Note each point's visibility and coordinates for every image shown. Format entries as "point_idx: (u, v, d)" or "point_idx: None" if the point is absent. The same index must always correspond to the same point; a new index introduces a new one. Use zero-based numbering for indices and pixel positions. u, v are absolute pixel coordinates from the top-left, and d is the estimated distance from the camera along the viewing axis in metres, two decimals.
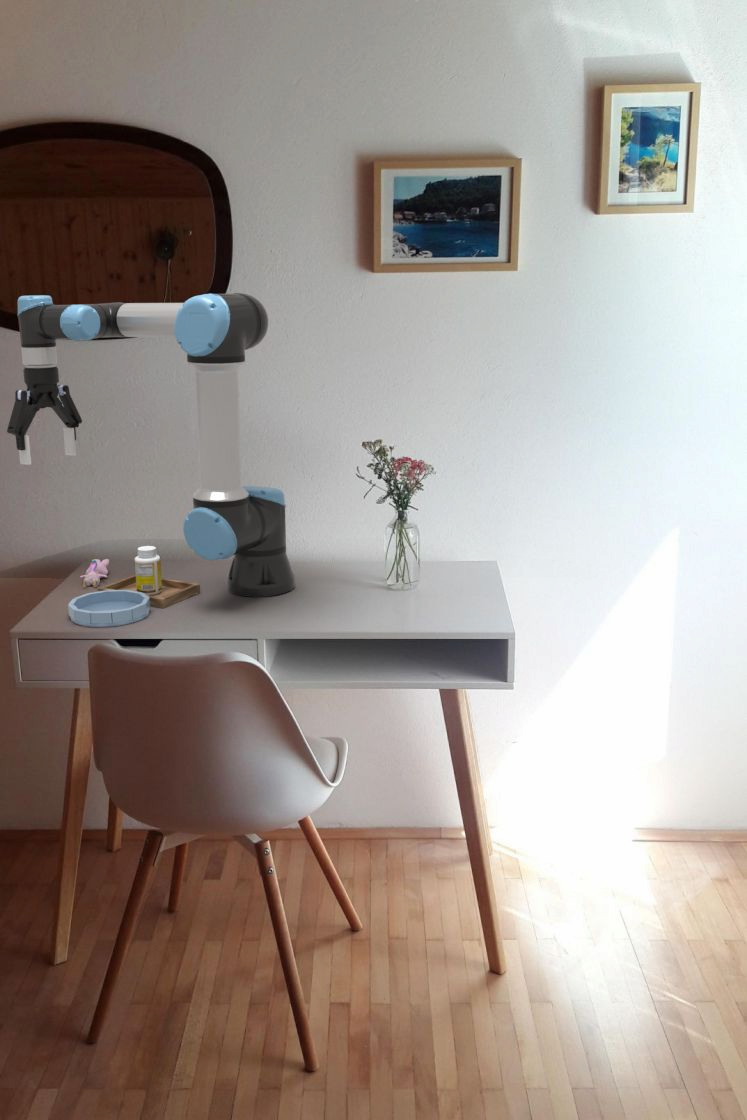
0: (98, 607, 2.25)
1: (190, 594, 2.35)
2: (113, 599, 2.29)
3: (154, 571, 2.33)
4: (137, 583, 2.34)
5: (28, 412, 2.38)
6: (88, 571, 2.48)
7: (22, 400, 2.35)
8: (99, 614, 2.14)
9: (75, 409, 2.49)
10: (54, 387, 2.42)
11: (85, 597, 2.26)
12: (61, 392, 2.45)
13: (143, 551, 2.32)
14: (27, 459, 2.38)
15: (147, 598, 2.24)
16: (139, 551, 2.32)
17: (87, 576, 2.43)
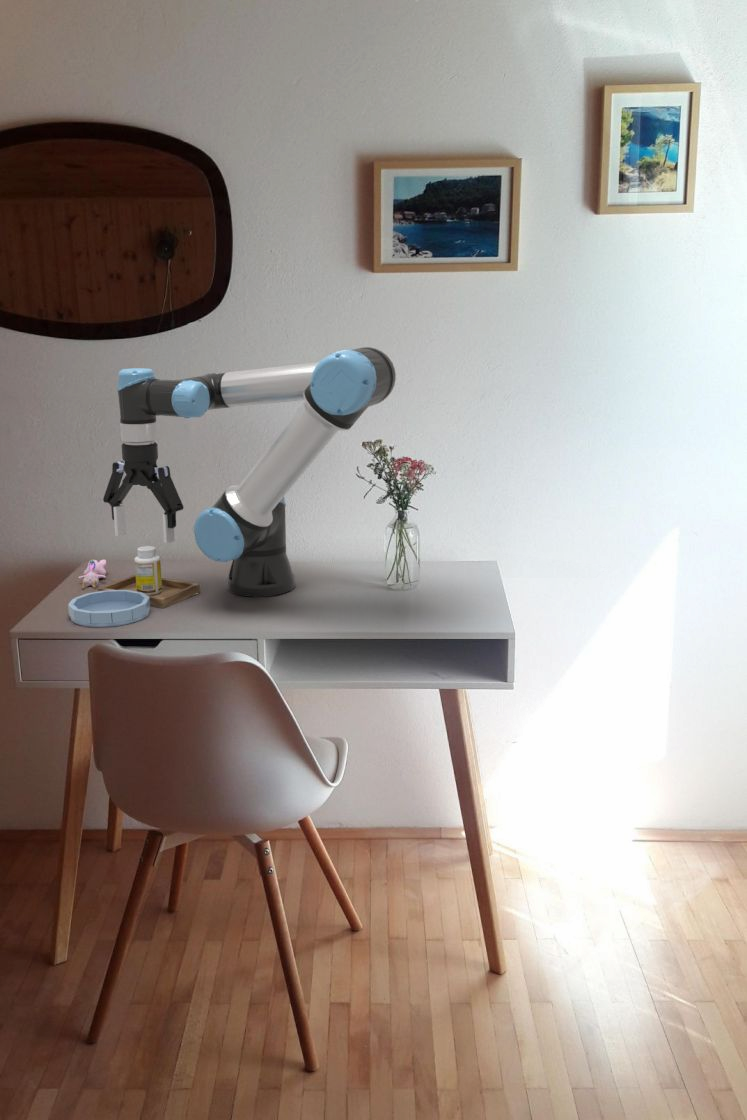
0: (98, 607, 2.25)
1: (190, 594, 2.35)
2: (113, 599, 2.29)
3: (154, 571, 2.33)
4: (137, 583, 2.34)
5: None
6: (86, 572, 2.47)
7: None
8: (99, 614, 2.14)
9: (169, 495, 2.25)
10: (146, 466, 2.27)
11: (85, 597, 2.26)
12: None
13: (143, 551, 2.32)
14: None
15: (147, 598, 2.24)
16: (139, 551, 2.32)
17: (86, 577, 2.43)
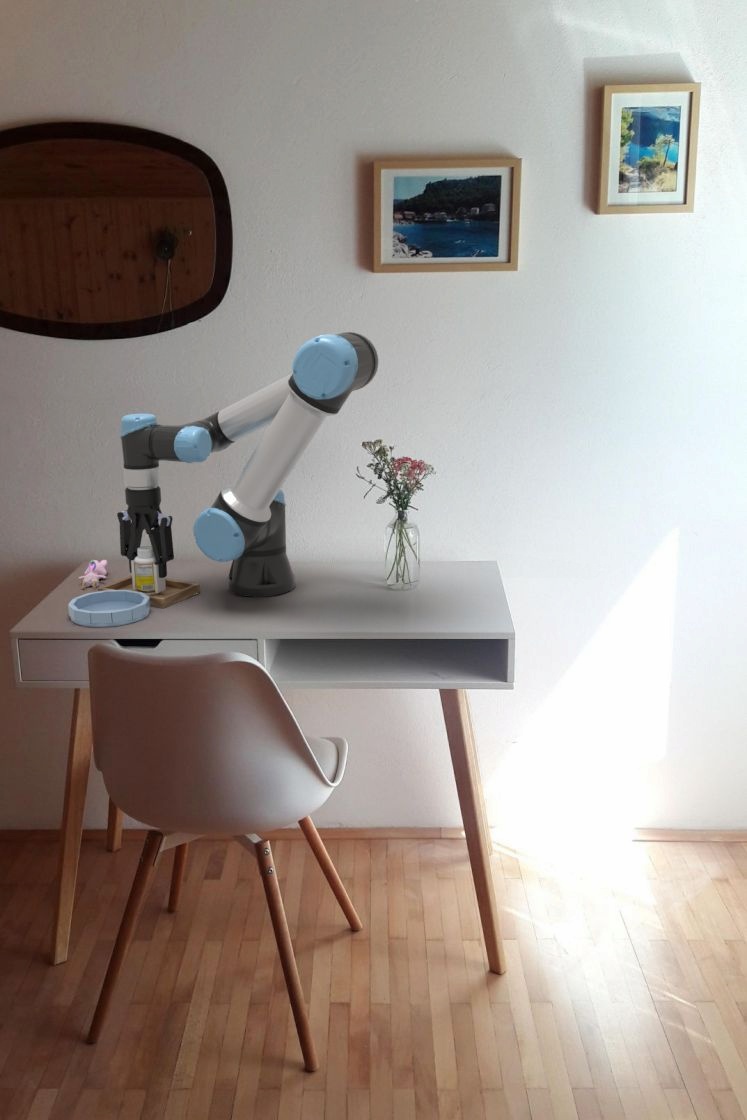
0: (98, 607, 2.25)
1: (190, 594, 2.35)
2: (113, 599, 2.29)
3: None
4: (137, 583, 2.34)
5: None
6: (87, 572, 2.47)
7: None
8: (99, 614, 2.14)
9: (164, 545, 2.29)
10: (151, 510, 2.29)
11: (85, 597, 2.26)
12: (160, 521, 2.29)
13: (143, 551, 2.32)
14: None
15: (147, 598, 2.24)
16: (139, 551, 2.32)
17: (86, 577, 2.42)
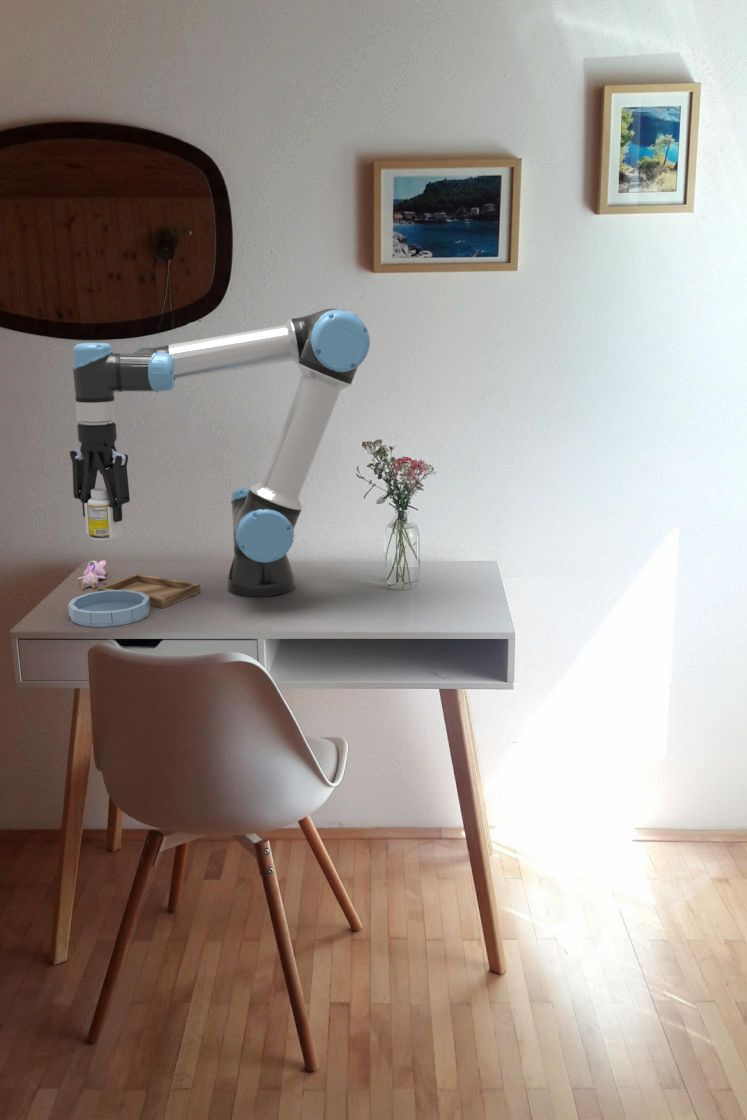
0: (98, 607, 2.25)
1: (190, 594, 2.35)
2: (113, 599, 2.29)
3: None
4: (90, 527, 2.17)
5: None
6: (86, 573, 2.47)
7: None
8: (99, 614, 2.14)
9: (118, 486, 2.12)
10: (105, 448, 2.12)
11: (85, 597, 2.26)
12: (114, 459, 2.12)
13: (96, 492, 2.15)
14: None
15: (147, 598, 2.24)
16: (92, 493, 2.15)
17: (85, 577, 2.42)
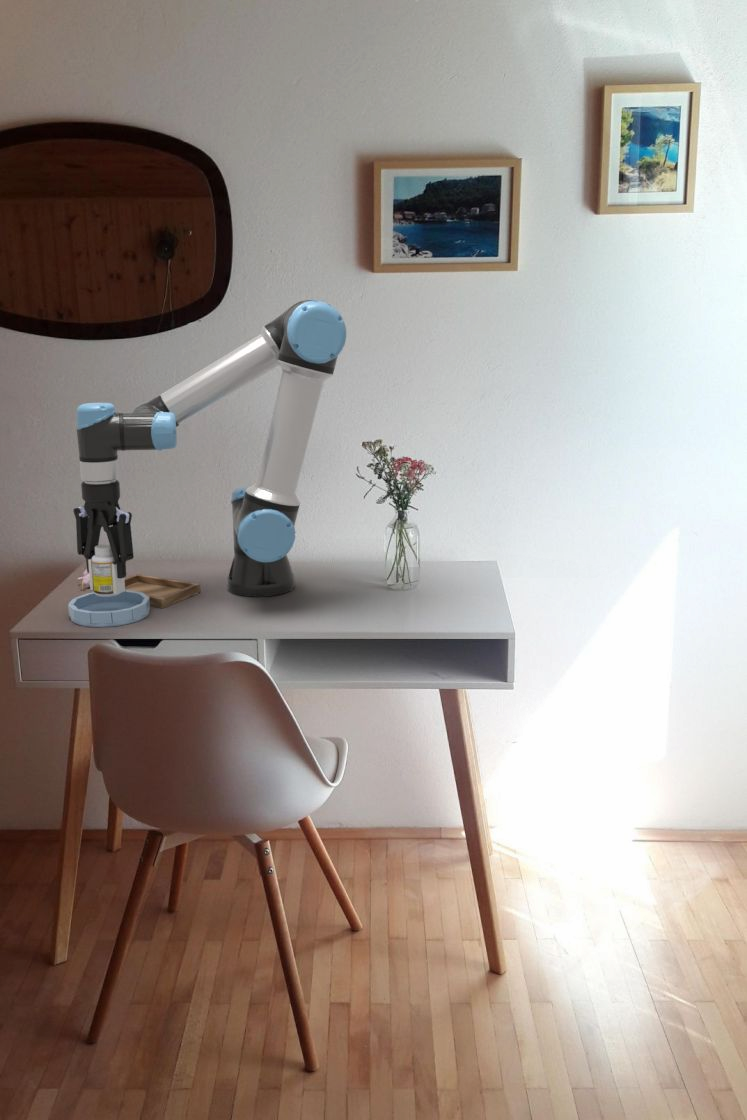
0: (98, 607, 2.25)
1: (190, 594, 2.35)
2: (113, 599, 2.29)
3: None
4: (94, 584, 2.19)
5: None
6: (85, 573, 2.46)
7: None
8: (99, 614, 2.14)
9: (122, 544, 2.15)
10: (109, 506, 2.14)
11: (85, 597, 2.26)
12: (118, 517, 2.15)
13: (100, 550, 2.17)
14: None
15: (147, 598, 2.24)
16: (96, 550, 2.18)
17: (85, 578, 2.42)
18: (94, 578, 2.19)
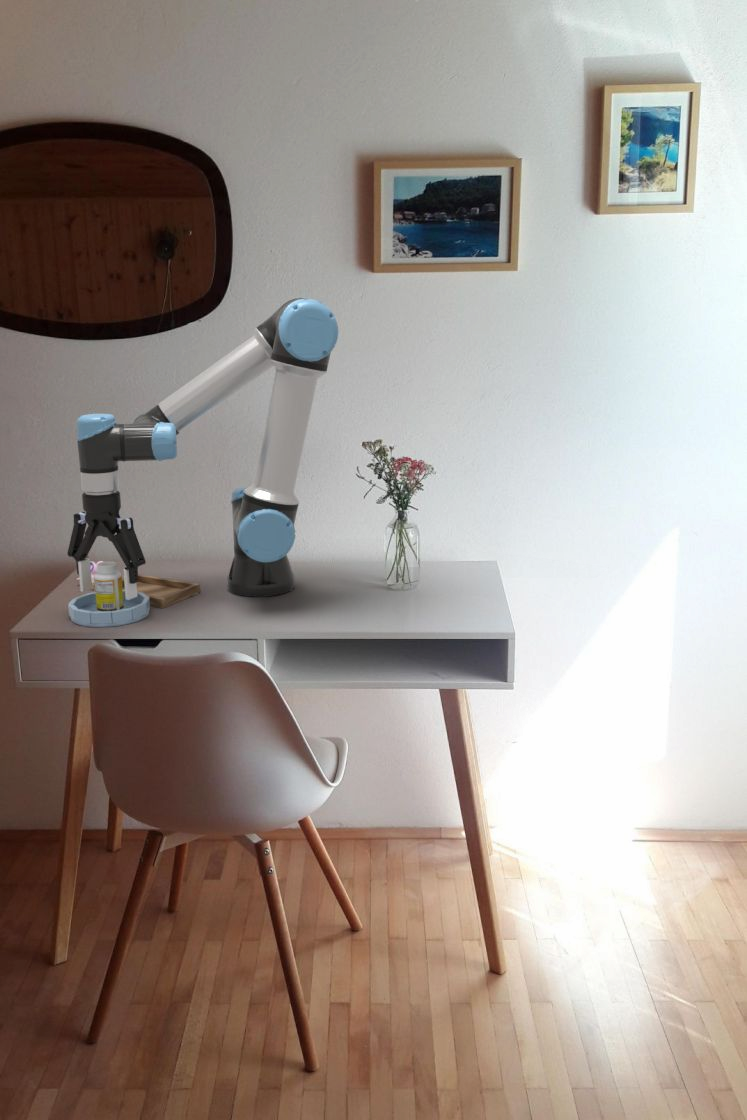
0: None
1: (190, 594, 2.35)
2: None
3: (114, 588, 2.19)
4: (97, 601, 2.20)
5: None
6: None
7: None
8: (99, 614, 2.14)
9: (130, 549, 2.14)
10: (108, 517, 2.15)
11: (85, 597, 2.26)
12: (120, 525, 2.15)
13: (102, 567, 2.18)
14: None
15: (147, 598, 2.24)
16: (98, 567, 2.19)
17: None
18: (97, 596, 2.20)
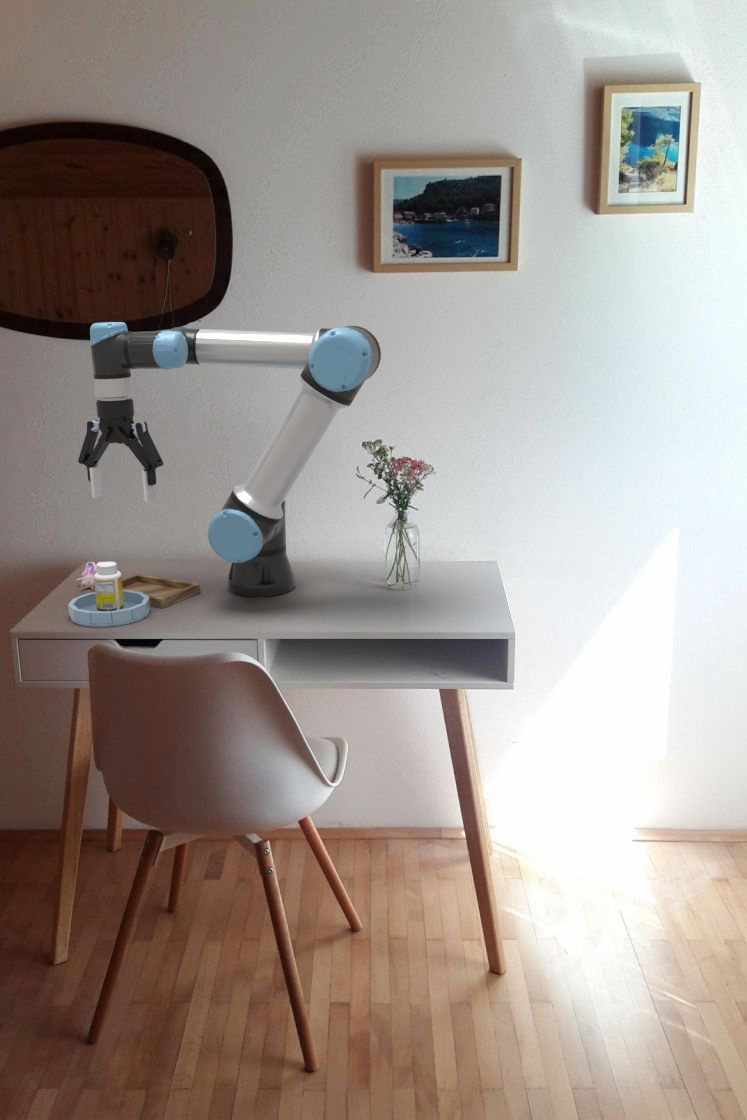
0: None
1: (190, 594, 2.35)
2: None
3: (114, 588, 2.19)
4: (97, 601, 2.20)
5: None
6: (84, 574, 2.46)
7: None
8: (99, 614, 2.14)
9: (148, 451, 2.20)
10: (123, 423, 2.21)
11: (85, 597, 2.26)
12: (135, 430, 2.21)
13: (103, 567, 2.18)
14: None
15: (147, 598, 2.24)
16: (98, 567, 2.19)
17: (84, 579, 2.41)
18: (97, 596, 2.20)
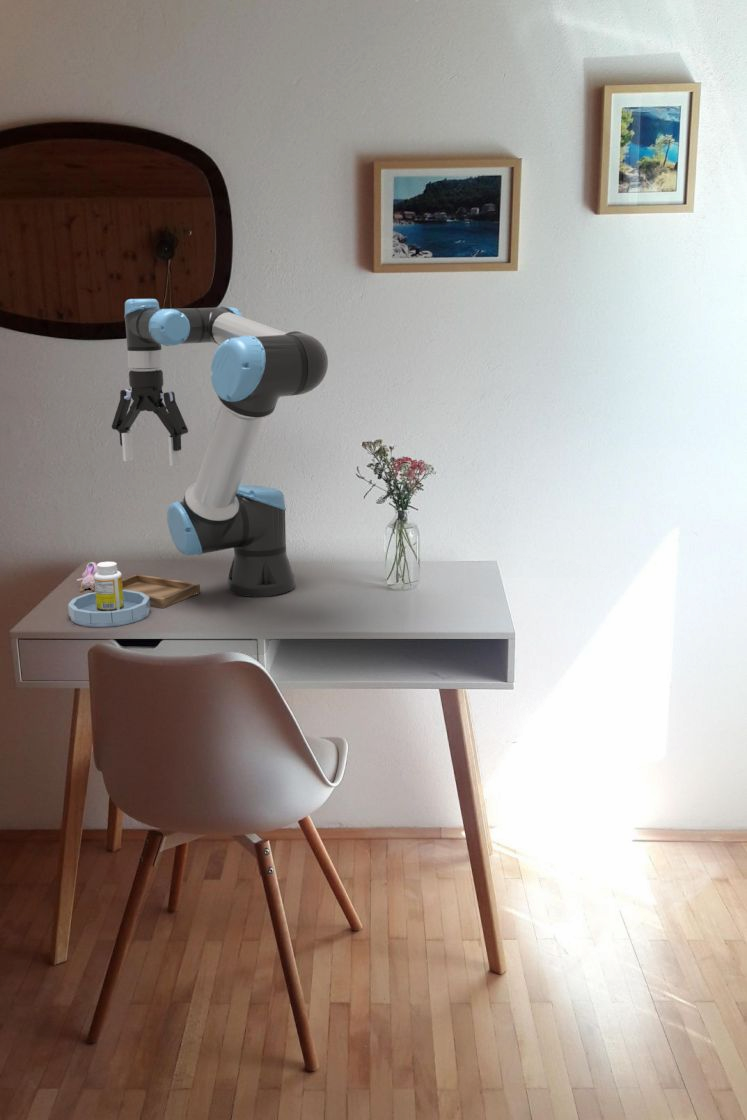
0: None
1: (190, 594, 2.35)
2: None
3: (114, 588, 2.19)
4: (97, 601, 2.20)
5: None
6: (84, 574, 2.45)
7: None
8: (99, 614, 2.14)
9: (174, 419, 2.38)
10: (152, 392, 2.39)
11: (85, 597, 2.26)
12: None
13: (103, 567, 2.18)
14: None
15: (147, 598, 2.24)
16: (99, 567, 2.19)
17: (84, 579, 2.40)
18: (97, 596, 2.20)
